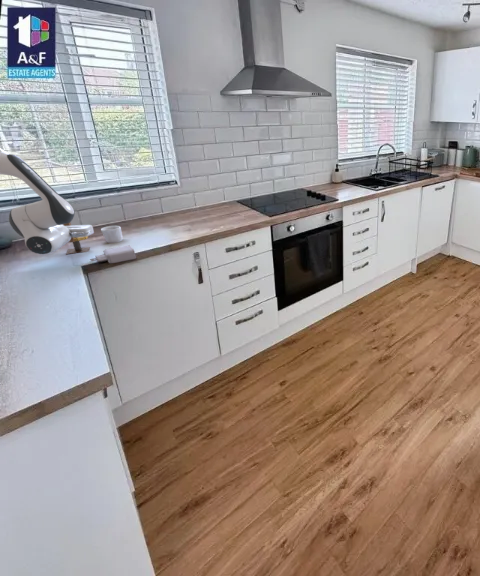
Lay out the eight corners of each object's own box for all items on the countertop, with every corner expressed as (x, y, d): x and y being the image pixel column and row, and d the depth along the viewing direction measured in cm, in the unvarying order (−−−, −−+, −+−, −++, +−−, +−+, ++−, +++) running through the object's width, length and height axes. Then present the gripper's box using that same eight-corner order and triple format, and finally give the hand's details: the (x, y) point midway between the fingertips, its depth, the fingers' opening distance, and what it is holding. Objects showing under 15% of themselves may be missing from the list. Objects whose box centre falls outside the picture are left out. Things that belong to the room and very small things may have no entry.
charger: (90, 262, 154) (131, 254, 163) (94, 269, 148) (137, 260, 157) (86, 252, 152) (128, 244, 161) (90, 257, 146) (134, 249, 155)
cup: (100, 243, 180) (95, 227, 176) (118, 239, 186) (113, 223, 182) (110, 247, 174) (104, 231, 171) (128, 243, 180) (123, 227, 177)
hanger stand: (66, 256, 159) (60, 233, 156) (68, 251, 166) (62, 229, 162) (89, 253, 164) (83, 231, 160) (90, 249, 170) (84, 228, 166)
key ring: (83, 241, 159) (76, 216, 155) (59, 242, 156) (51, 216, 152) (90, 236, 167) (83, 211, 163) (67, 237, 164) (60, 212, 160)
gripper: (85, 225, 148) (96, 218, 160) (20, 228, 140) (36, 221, 152) (90, 241, 150) (99, 233, 162) (26, 244, 143) (41, 235, 155)
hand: (68, 227), depth 157 cm, fingers closed on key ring
